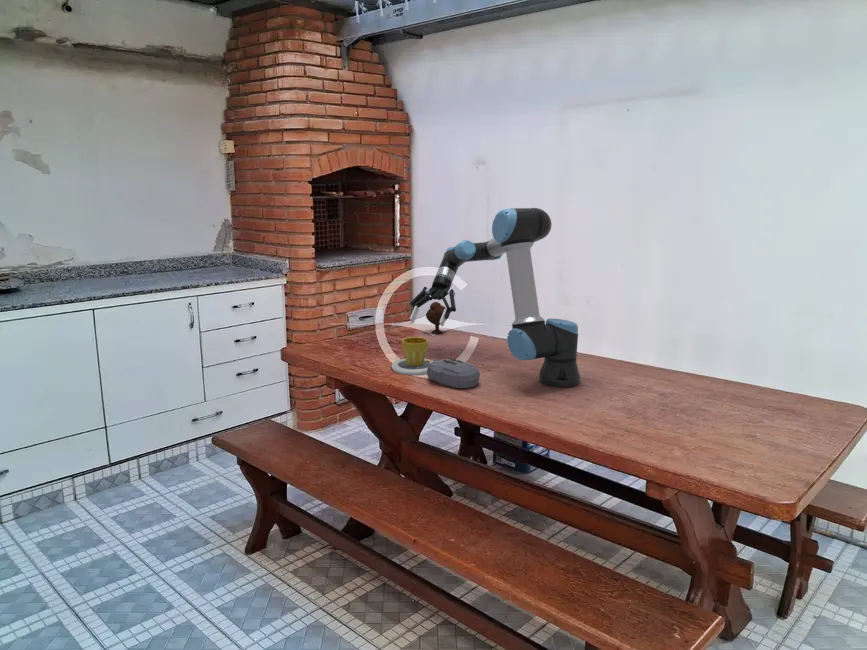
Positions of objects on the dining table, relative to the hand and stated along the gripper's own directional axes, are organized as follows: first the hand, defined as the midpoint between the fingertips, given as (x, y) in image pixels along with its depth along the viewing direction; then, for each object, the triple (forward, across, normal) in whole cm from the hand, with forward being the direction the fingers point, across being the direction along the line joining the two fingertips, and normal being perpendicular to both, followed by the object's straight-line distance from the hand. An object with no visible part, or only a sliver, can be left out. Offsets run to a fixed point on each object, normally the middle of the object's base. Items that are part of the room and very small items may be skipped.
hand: (426, 322), depth 263 cm
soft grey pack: (+24, -22, 0) cm, 33 cm away
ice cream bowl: (-20, +19, -44) cm, 52 cm away
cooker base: (+18, 0, -5) cm, 19 cm away
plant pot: (+17, 0, -4) cm, 18 cm away
